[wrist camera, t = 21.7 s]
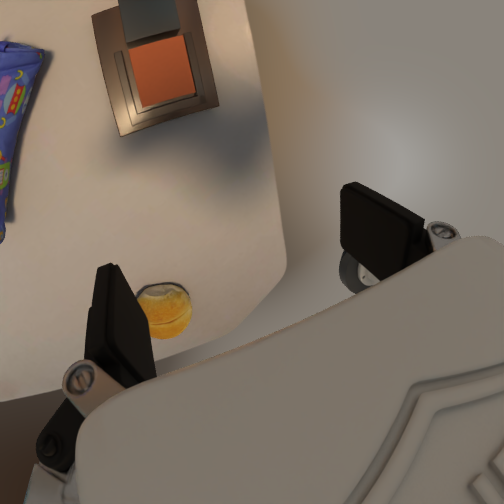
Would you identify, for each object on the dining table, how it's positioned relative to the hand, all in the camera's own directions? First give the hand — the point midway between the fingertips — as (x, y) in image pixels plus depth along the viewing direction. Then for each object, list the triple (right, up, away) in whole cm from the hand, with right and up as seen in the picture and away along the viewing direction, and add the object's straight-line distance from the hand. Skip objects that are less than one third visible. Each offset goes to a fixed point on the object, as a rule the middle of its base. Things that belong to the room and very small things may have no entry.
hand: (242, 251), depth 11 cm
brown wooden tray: (-10, +20, +12) cm, 25 cm away
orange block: (-9, +18, +12) cm, 23 cm away
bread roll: (-13, -8, +28) cm, 32 cm away
